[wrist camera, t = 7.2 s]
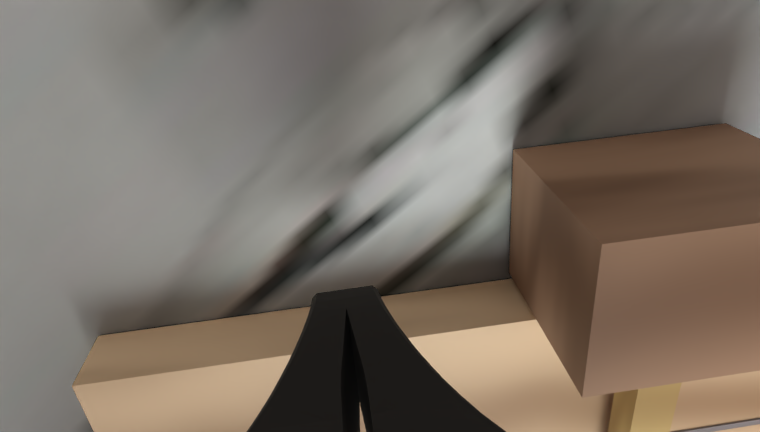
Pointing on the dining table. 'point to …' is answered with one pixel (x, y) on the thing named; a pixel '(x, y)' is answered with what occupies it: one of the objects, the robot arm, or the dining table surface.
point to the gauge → (642, 262)
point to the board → (434, 342)
